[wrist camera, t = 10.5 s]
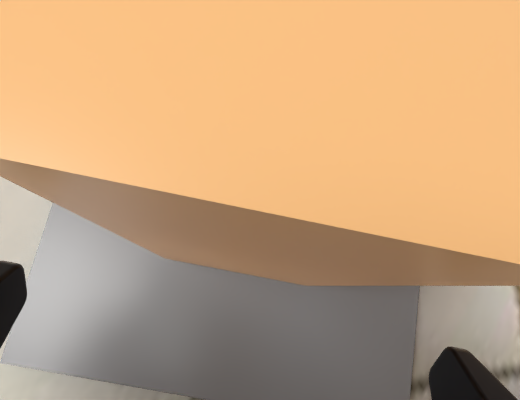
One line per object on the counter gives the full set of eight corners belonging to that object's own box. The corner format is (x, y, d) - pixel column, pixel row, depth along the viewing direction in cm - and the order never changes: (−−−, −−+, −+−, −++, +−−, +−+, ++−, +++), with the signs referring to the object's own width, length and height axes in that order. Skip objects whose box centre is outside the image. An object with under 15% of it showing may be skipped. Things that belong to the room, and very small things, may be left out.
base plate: (395, 426, 16) (406, 435, 15) (13, 358, 15) (-1, 362, 14) (426, 92, 20) (437, 82, 19) (122, 22, 19) (117, 7, 18)
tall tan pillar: (305, 285, 16) (625, 285, 3) (165, 258, 16) (-60, 145, 3) (325, 154, 17) (602, -188, 5) (197, 126, 17) (133, -322, 4)
